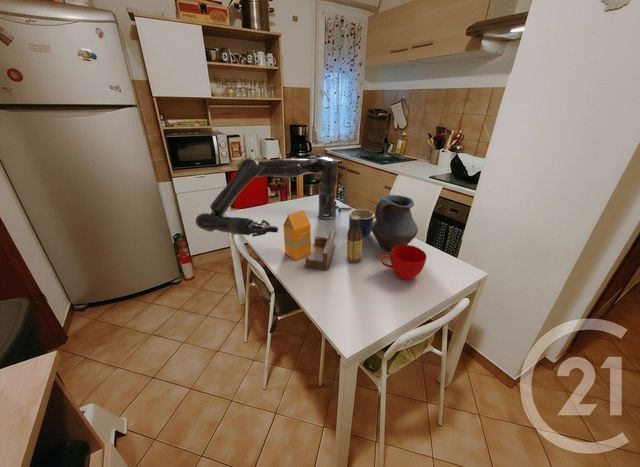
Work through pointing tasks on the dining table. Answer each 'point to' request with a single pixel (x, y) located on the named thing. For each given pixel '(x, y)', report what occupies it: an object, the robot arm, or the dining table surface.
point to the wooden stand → (327, 252)
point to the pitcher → (394, 222)
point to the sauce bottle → (354, 240)
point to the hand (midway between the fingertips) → (277, 229)
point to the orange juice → (297, 235)
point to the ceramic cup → (406, 261)
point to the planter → (363, 220)
